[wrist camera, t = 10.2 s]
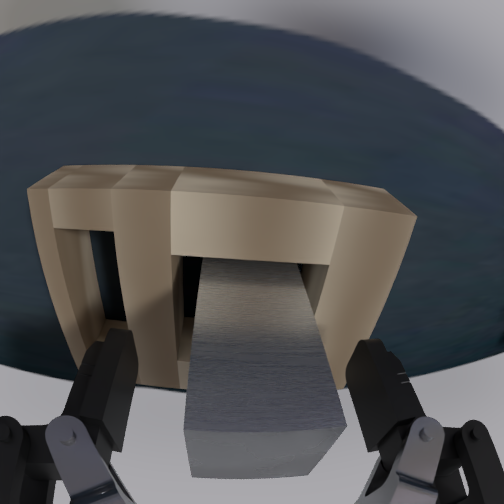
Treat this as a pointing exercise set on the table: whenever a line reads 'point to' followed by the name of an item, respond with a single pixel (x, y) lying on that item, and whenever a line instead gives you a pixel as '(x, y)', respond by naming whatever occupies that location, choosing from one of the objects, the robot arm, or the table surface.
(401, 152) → the table surface
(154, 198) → the holder
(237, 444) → the grey rectangular block
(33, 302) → the table surface
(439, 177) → the table surface
